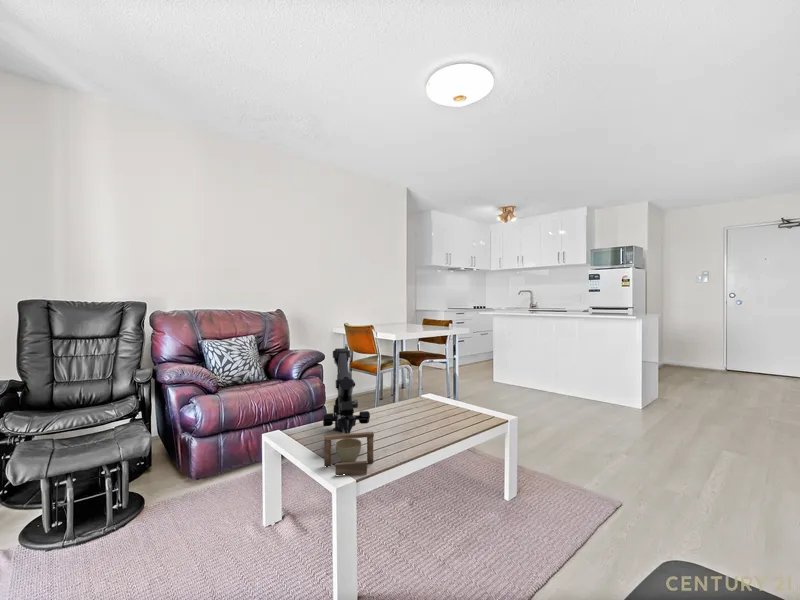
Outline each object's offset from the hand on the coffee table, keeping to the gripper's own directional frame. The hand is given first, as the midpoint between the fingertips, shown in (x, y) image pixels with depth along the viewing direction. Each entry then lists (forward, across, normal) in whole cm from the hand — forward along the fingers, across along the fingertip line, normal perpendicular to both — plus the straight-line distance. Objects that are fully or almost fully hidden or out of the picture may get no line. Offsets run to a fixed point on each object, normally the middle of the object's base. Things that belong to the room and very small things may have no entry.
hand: (347, 438), depth 153 cm
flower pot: (+9, 0, +2) cm, 9 cm away
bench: (+13, 0, -2) cm, 13 cm away
